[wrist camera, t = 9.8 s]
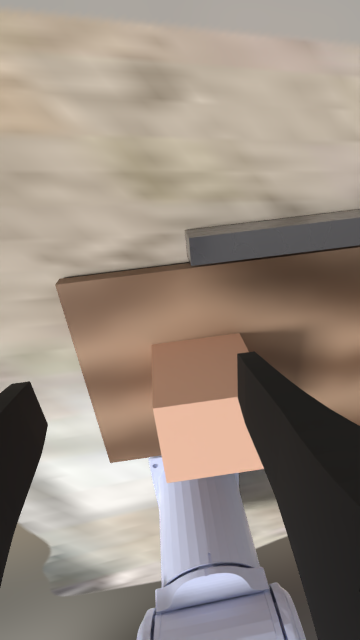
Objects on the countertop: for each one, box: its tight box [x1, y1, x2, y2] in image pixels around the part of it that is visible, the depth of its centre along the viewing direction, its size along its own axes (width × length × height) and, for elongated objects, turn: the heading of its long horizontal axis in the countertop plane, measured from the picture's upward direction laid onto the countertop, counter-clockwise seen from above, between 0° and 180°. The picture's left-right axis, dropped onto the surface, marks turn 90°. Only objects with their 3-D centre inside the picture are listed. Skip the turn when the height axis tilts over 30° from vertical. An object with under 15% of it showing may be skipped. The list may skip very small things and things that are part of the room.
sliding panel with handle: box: [56, 245, 360, 463], centre depth 21 cm, size 16×24×6 cm, turn 96°
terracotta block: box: [151, 333, 264, 483], centre depth 20 cm, size 6×6×6 cm
